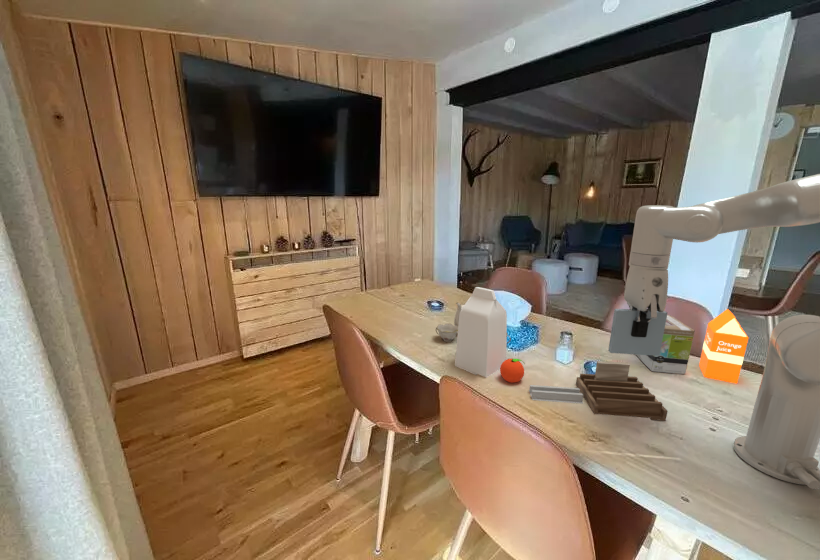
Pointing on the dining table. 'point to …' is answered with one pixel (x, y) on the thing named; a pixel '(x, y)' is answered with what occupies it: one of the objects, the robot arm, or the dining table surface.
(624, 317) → the grey upright panel
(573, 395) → the stand
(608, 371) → the rack
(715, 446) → the dining table surface
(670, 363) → the tea box
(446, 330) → the chinaware
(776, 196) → the robot arm
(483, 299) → the milk
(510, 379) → the clementine
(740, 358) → the orange juice
